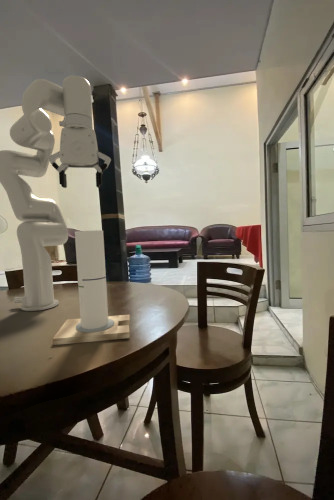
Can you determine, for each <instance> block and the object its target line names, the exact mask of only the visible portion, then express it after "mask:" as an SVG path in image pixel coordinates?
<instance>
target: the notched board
mask: <svg viewBox="0 0 334 500" xmlns="http://www.w3.org/2000/svg"><path fill="white" fill-rule="evenodd" d="M130 323H131V315H130V314H119V315H108V324H107V325H105V326H103V327H100V328H95V329H85V328H82V327H81V319H80V318H70V319H69V318H67V319H66V320H65V321H64V323H63V324H62V326H61V327H60V328H59V330H58V331H57V333H55V335H54V336H53V338H52V345H53V346H57V345H58V346H59V345H68V344H69V345H71V344H78V343H79V344H81V343H90V342H91V343H92V342H101V341H113V340H122V339H123V340H125V339H130V330H131V329H130Z"/></svg>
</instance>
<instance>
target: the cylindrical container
mask: <svg viewBox="0 0 334 500" xmlns="http://www.w3.org/2000/svg"><path fill="white" fill-rule="evenodd" d="M74 238H75V239H74V242H75V252H76V253H75V256H76V271H77V285H78V289H77V290H78V298H79V299H78V301H79V317H80V318H79V319H81V327H82V328H85V329H95V328H100V327H103V326H105V325H107V324H108V316H109V310H108V309H109V307H108V290H107V275H106V273H107V271H106V259H105V254H106V253H105V240H104V230H101V229H100V230H99V229H97V230H76V231H74Z"/></svg>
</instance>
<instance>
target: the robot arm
mask: <svg viewBox="0 0 334 500" xmlns="http://www.w3.org/2000/svg"><path fill="white" fill-rule="evenodd" d="M21 109H22V113H23V114H22V115H21V117H19V119H17V120H16V121H15V122H14V124H12V125H11V126H10V128H9V136H10V139H11V140H12V141H13V142H14V144H15V145H18V146H20V147H23V148H26V149H31V150H36V153H35V154H31V153H26V152H23V151H22V152H21V151H16V150H11V149H10V150H9V149H5V150H4V149H3V150H0V185H1V186H2V187H3V189H4V191H5V192H6V195H7V197H8V201H9V203H10V206H11V208H12V212H13V214H14V216H15V218H16V219H17V220H18V221H20V222H21V223H20V224H19V225H18V226H17V229H16V236H17V241H18V244H19V245H18V246H19V248H20V249H19V250H20V254H21V263H22V273H23V274H22V275H23V287H24V288H23V289H24V295H23V296H14V297H13V303H15V304H20V303H21V304H22V305H21V306H20V309H21V310H22V311H25V312H37V311H44V310H49V309H51V308H54V307H57V306H58V305H59V303H60V302H59V300H58V299H56V298H55V296H54V295H55V291H54V280H53V267H52V258H51V255H50V253H49V252H48V251H47V250H46V248H45V247H55V246H56V247H57V246H62V245H65V244H66V243H67V241H68V239H69V231H68V227H67V223H66V221H65V219H64V217H63V215H62V212H61V209H60V207H59V205H58V203H57V202H56V201H55V200H53V199H51V198H47V197H40V196H39V197H37V196H35V194H34V193H33V190H32V188H31V186H30V185H29V183H28V182H26V180H25V179H24V178H22V176H23V177H32V178H42V177H44V176H45V175H46V174H47V171H48V168H49V164H51V166H52V167H53V168H54V169H55V170H56V172H57V173H58V178H59V185H60V186H61V187H62V188H64V189H67V187H68V184H67V174H66V171H67V170H68V169H69V168H71V169H72V168H76V169H77V168H78V169H79V168H80V169H81V168H82V169H85V168H86V169H90V168H91V169H92V168H93V169H95V170H96V172H95V186H96V188H98V189H101V186H102V185H103V174H104V172H105V171H106V170H107V169H108V167H109V165H110V163H111V161H112V159H111V157H110V156H108V155H106V154H105V153H102V152H100V151H99V148H98V141H97V135H96V131H95V129H94V128H93V104H92V86H91V84H90V82H89V81H88V80H87V79H86V78H85V77H83V76H80V75H68V76H66V77H65V78H64V79H63V81H62V86H61V85H59V84H57V83H55V82H52V81H49V80H47V79H44V78H37V79H35V80H33V81H32V82H31V83H30V84H29V85H28V86H27V87H26V89H25V90H24V92H23V94H22V99H21ZM44 110H45V111H44ZM46 111H47V112H50V113H53V114H56V115H60V116H62V117H63V120H60V121H58V124H59V127H62V128H61V131H60V140H59V141H60V142H59V151H57V152H55V153H53V152H54V148H55V141H56V140H55V135H54V133H53V132H52V128H53V125H52V124H53V123H52V120H51V119H50V116H49V115H48V114H47V113H46ZM99 159H101V160H103V161H104V162H103V164H102V165H101V166H99V165H100V163H99V161H100V160H99ZM56 160H59V162H60V163H61V164H60V165H59V164H58V163H57V162H56Z"/></svg>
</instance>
